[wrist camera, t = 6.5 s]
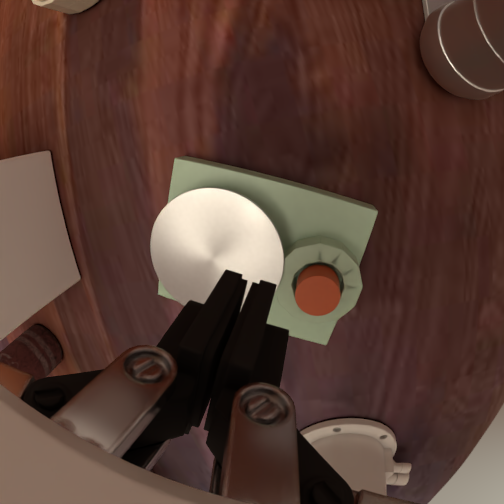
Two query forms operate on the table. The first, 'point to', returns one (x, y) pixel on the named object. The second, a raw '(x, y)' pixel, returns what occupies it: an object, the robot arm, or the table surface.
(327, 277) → the button
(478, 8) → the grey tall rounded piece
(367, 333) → the table surface
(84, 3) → the bowl
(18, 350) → the can
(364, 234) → the scale
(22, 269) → the cardboard gift box
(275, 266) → the scale plate
